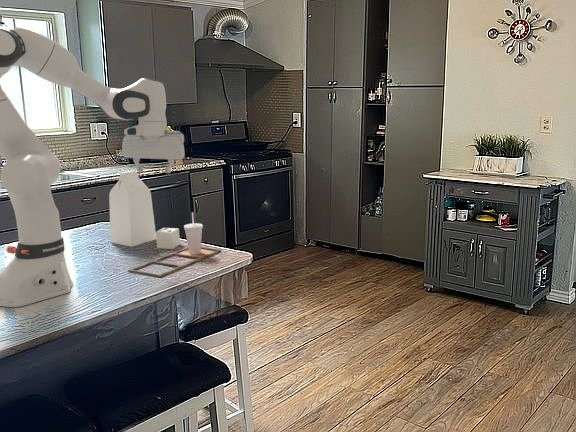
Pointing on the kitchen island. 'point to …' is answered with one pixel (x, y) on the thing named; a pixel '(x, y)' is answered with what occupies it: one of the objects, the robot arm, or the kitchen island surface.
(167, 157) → the robot arm
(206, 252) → the board
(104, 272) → the kitchen island surface
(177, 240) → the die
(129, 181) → the milk
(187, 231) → the smoothie
